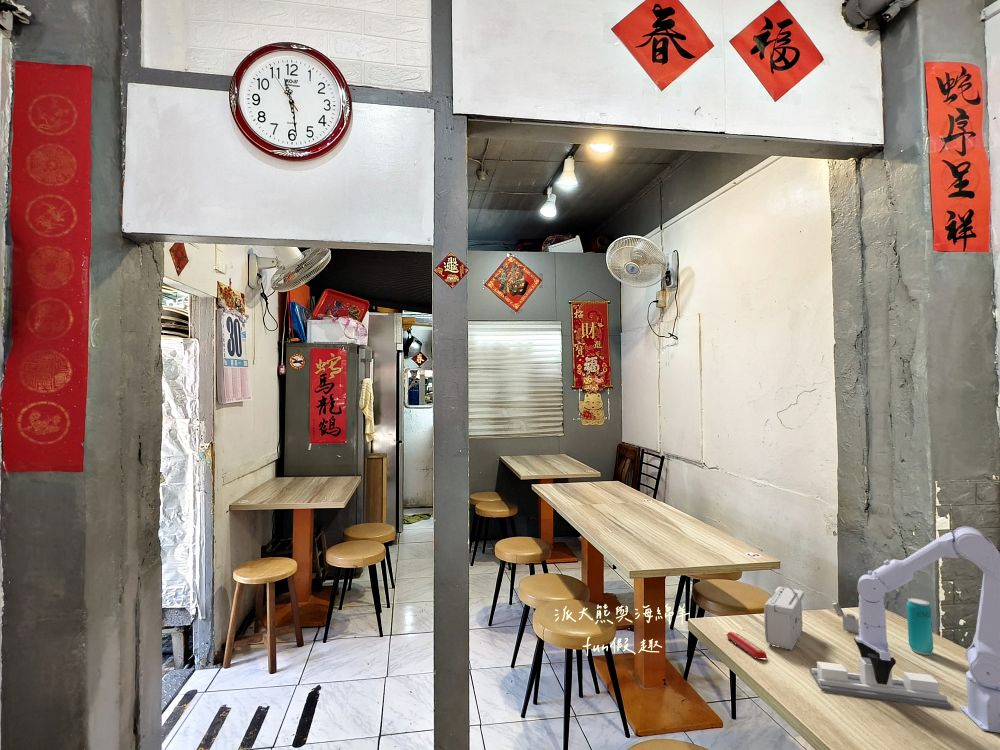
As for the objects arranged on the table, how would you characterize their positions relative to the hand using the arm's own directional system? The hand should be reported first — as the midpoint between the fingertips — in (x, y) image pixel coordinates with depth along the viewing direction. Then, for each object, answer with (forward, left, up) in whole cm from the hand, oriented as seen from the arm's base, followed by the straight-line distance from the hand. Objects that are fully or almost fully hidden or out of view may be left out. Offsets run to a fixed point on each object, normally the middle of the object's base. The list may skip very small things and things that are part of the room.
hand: (875, 676), depth 134 cm
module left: (0, +10, -3) cm, 11 cm away
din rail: (0, 0, -3) cm, 3 cm away
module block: (0, 0, -2) cm, 2 cm away
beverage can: (+28, -22, -4) cm, 36 cm away
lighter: (+40, -6, -4) cm, 41 cm away
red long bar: (+15, +29, -4) cm, 33 cm away
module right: (0, -10, -3) cm, 11 cm away
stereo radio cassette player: (+27, +15, -4) cm, 31 cm away
